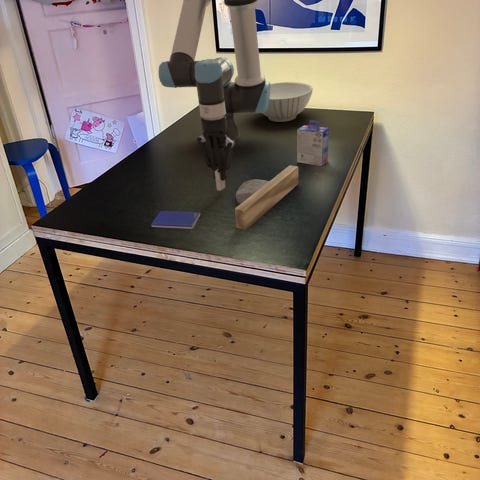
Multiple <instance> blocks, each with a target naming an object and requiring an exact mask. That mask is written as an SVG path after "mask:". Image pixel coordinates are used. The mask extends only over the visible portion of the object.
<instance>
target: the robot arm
mask: <svg viewBox="0 0 480 480" xmlns="http://www.w3.org/2000/svg"><path fill="white" fill-rule="evenodd" d="M211 1H212V0H183V1H182V5H181V8H180V9H181V11H180V14H179V18H178V23H177V27H176V32H175V35H174V40H173V45H172V49H171V53H170V57H169V60H167V61H162V62H161V63H160V64H159V66H158V79H159V82H160V84H161V85H162V86H163V87H165V88H175V89H178V88H196V91H197V98H198V106H199V115H200V117H201V118H200V123H201V124H200V125H201V130H202V135H200V136H198V137H197V138H196V142H198V144H199V146H200V148H201V152H202V155H203V157H204V161H205V164H206V167H207V168H210V169H212V173H213V174H212V175H213V179H214V180H215V185H216V191H219V192H222V190H224V189H225V188H226V179H227V172H226V171H228V170H229V169H230V168H231V167H232V159H233V152H234V147H235V145H236V143H237V142H236V141H237V140H239V139H240V137H241V136H240V133H241V131H240V129H239V128H238V124H237V122H236V121H235V116H234V115H235V114H262V113H264V112H265V111H266V110H267V108H268V105H269V99H270V84H271V82H270V81H268V80H266V76H265V75H264V73H262V71H261V64H260V62H261V61H260V51H259V40H258V31H257V29H258V28H257V19H256V7H255V6H256V4H257V3H258V2H259V0H223V3H224V6H226V7H227V8H228V9H229V14H230V15H229V16H230V24H231V31H232V38H233V39H232V40H233V48H234V55H235V62H236V63H235V64H236V71H237V75H236V76H235V78H234V79H233V80H234V81H233V82H232V78H233V76H234V74H235V68H234V65H233V62H232V61H231V60H229V59H228V58H227V57H223V56H222V57H221V56H220V57H216V58H207V59H201V60H195V59H196V56H197V55H196V54H197V52H198V46H199V42H200V37H201V32H202V27H203V24H204V19H205V14H206V9H207V7H208V6H210V4H211Z"/></svg>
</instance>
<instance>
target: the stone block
mask: <svg viewBox="0 0 480 480" xmlns="http://www.w3.org/2000/svg"><path fill="white" fill-rule="evenodd" d="M269 181H270V180H269ZM269 181H268V180H265V179H264V180H263V179H250V180H247V181H244V182H242V184H241V185H240V186H238V190H237V191H236V194H235V200H236V202H237V203H238V204H239V205H240V204H241V203H243V202H244V201H245V200H246V199H248V198H249V197H250V196H252V195H253V194H254V193H255V192H257V191H258V190H259V189H260V188H262V187H263V186H264V185H265V184H267V183H268V182H269Z"/></svg>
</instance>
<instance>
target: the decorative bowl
mask: <svg viewBox="0 0 480 480" xmlns="http://www.w3.org/2000/svg"><path fill="white" fill-rule="evenodd" d="M312 94H313V86H312V85H310V84H307V83H303V82H299V81H282V82H281V81H278V82H270V99H269V105H268V108H267V110H266V111H265V112H264V113H261V114H263V115H264V116H266V117H267V118H268V120H269V121H272V122H277V123H278V122H279V123H280V122H281V123H282V122H283V123H284V122H290V121H293V120H295V119H296V118H297V115H299V114H300V113H301V112H303V111H304V110H305V108H306V107H307V106H308V104H309V102H310V100H311V97H312Z"/></svg>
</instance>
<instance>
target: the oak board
mask: <svg viewBox="0 0 480 480" xmlns="http://www.w3.org/2000/svg"><path fill="white" fill-rule="evenodd" d="M298 185H299V166H296V165H291V164H290V165H288V166H287V167H286V168H284V169H283V170H281V172H279V173H278V174H277V175H275V176H274V177H273V178H272V179H271V180H269V182H268V183H267V184H265V185H264V186H263V187H262V188H260V189H259V190H258V191H257V192H255V193H254V194H253V195H252V196H250V197H249V198H248V199H246V200H245V201H244V202H243V203H241V204H240V203H239V205H238V206H236V207H235V208H234V215H235V223H236V224H235V225H236V226H235V227H236V228H237V229H240V230H243V231H246V230H247V229H248V228H251V226H252V225H253V224H254V223H256V221H258V220H259V219H260V218H261V217H262V216H264V214H266V213H267V212H268V211H269V210H271V209H272V208H273V207H274V206H275V205H276V204H277V203H278V202H279V201H280V200H283V198H284V197H285V196H286V195H288V193H290V192H291V191H292V190H293V189H295V187H296V186H298Z"/></svg>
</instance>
